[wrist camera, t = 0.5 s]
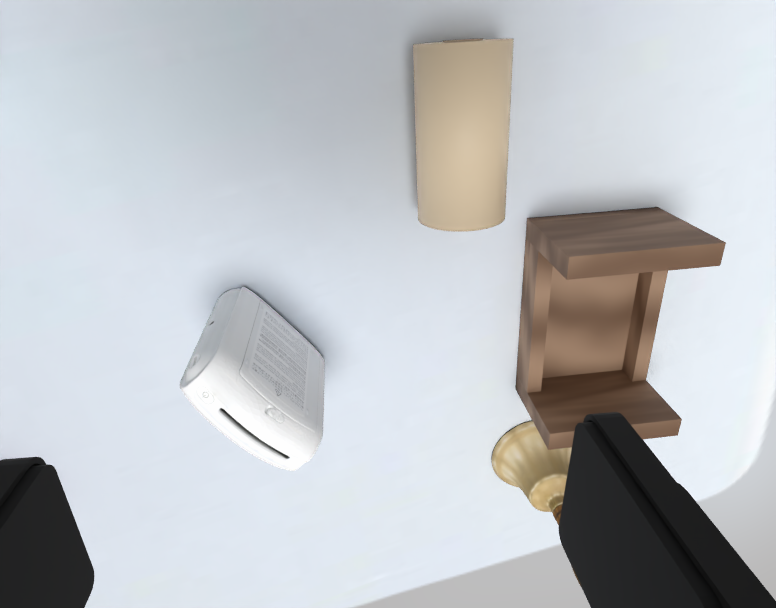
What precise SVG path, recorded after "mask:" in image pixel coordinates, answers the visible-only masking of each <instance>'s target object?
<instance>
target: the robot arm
mask: <svg viewBox="0 0 776 608" xmlns="http://www.w3.org/2000/svg"><path fill="white" fill-rule="evenodd" d="M559 535H560V540H561V543H562V546H563V548H564V550H565V552H566V555H567V557H568V559H569V561H570V563H571V565H572V568H573V570H574V572H575V574H576V576H577V578H578V580H579V583H580V585H581V587H582V589H583V591H584V593H585V595H586V598H587V600H588V602H589V604H590V606H591V608H776V601H775V600H774V598H773V597H772V596H771V595H770V593H769V592H768V591H767V590H766V589H765V587H764V586H763V585H762V583H761V582H760V581H759V580H758V578H757V577H756V576H755V575H754V573H753V572H752V571H751V570H750V569H749V567H748V566H747V565H746V564H745V562H744V561H743V560H742V559H741V557H740V556H739V555H738V554H737V552H736V551H735V550H734V549H733V547H732V546H731V545H730V544H729V542H728V541H727V540H726V539H725V537H724V536H723V535H722V534H721V533H720V531H719V530H718V529H717V528H716V526H715V525H714V524H713V523H712V521H711V520H710V519H709V518H708V516H707V515H706V514H705V513H704V511H703V510H702V509H701V508H700V506H699V505H698V504H697V503H696V501H695V500H694V499H693V498H692V496H691V495H690V494H689V493H688V491H687V490H686V489H685V488H683V487H682V486H681V485H680V484H678V483H677V482H676V481H675V480H674V479H673V477H672V476H671V475H670V474H669V472H668V471H667V470H666V469H665V467H664V466H663V465H662V463H661V462H660V461H659V460H658V458H657V457H656V456H655V455H654V453H653V452H652V451H651V450H650V448H649V447H648V446H647V445H646V443H645V442H644V441H643V440H642V438H641V437H640V436H639V435H638V433H637V432H636V431H635V430H634V428H633V427H632V426H631V425H630V423H629V422H628V421H627V420H626V418H625V417H624V416H623V415H622V414H621V413H619V412H609V413H596V414H588V415H586V416H585V418H584V421H583V423H577V425H576V427H575V432H574V438H573V444H572V450H571V456H570V462H569V467H568V473H567V479H566V485H565V491H564V497H563V503H562V509H561V515H560V521H559ZM93 584H94V570H93V566H92V564H91V561H90V558H89V556H88V553H87V551H86V548H85V545H84V543H83V540H82V537H81V535H80V532H79V530H78V527H77V524H76V522H75V519H74V516H73V514H72V511H71V509H70V506H69V503H68V501H67V498H66V495H65V493H64V490H63V488H62V485H61V482H60V480H59V477H58V475H57V472H56V470H55V468H54V467H53V466H52V465H46V463H45V462H44V460H43V459H41V458H40V457H29V458H16V459H3V460H1V461H0V608H84V607H85V605H86V603H87V600H88V598H89V596H90V594H91V591H92V588H93Z"/></svg>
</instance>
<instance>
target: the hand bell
mask: <svg viewBox="0 0 776 608" xmlns="http://www.w3.org/2000/svg"><path fill="white" fill-rule="evenodd" d="M571 450H572V447H570V448H562V449H553V450H548V449H547V447H546V445H545V443H544V441H543V439H542V437H541V436H540V434H539V432H538V430H537V428H536V426H535V424H534V422H533V421H529V422H526V423H523V424H520V425H518V426H517V427H515V428H513V429H512V430H510V431H509V432H507V433H506V434H505V435H504V436H503V437H502V438H501V439H500V440H499V442H498V443H497V444H496V446H495V448H494V451H493V455H492V466H493V469H494V471H495V473H496V474H497V476H498V477H499V478H500V479H502V480H503V481H504V482H506V483H508V484H510V485H512V486H516V487H519V488H520V489H521V490H522V491H523V492H524V494H525V495H526V496H527V498H528V500H529V501H530V503H531V504H532V506H533V507H535V508H536V509H538V510H540V511H544V512H552V513H553V516H554V518H555V520H556V521H557V523H558V525H559V521H560V515H561V509H562V503H563V497H564V491H565V485H566V479H567V473H568V467H569V462H570V456H571ZM571 566H572V565H571ZM573 571H574V570H573ZM574 573H575V572H574ZM575 576H576V574H575ZM576 578H577V576H576ZM577 580H578V578H577ZM578 582H579V580H578ZM579 584H580V583H579ZM580 586H581V585H580Z"/></svg>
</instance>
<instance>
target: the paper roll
mask: <svg viewBox="0 0 776 608" xmlns="http://www.w3.org/2000/svg"><path fill="white" fill-rule="evenodd" d="M512 59H513V39H484V40H483V39H462V40H447V41H443V42H434V43H422V44H413V62H414V96H415V130H416V164H417V197H418V220H419V222H420V223H421V224H423V225H425V226H427V227H430V228H433V229H438V230H444V231H475V230H482V229H487V228H491V227H494V226H496V225H498V224H500V223H502V222H503V221H504V219H505V205H506V185H507V164H508V143H509V122H510V101H511V80H512Z"/></svg>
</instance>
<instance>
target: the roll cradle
mask: <svg viewBox="0 0 776 608" xmlns="http://www.w3.org/2000/svg"><path fill="white" fill-rule="evenodd" d="M725 244H726V243H725V242H724V241H722V240H720V239H718V238H716V237H714V236H712V235H710V234H708V233H706V232H704V231H702V230H700V229H699V228H697V227H695V226H693V225H691V224H689V223H687V222H685V221H683V220H681V219H679V218H677V217H675V216H673V215H672V214H670V213H668V212H666V211H664V210H662V209H660V208H658V207H654V208H642V209H630V210H619V211H607V212H595V213H583V214H572V215H560V216H548V217H536V218H527V227H526V242H525V257H524V272H523V287H522V302H521V316H520V331H519V346H518V361H517V376H516V390H517V392H518V394H519V396H520V398H521V400H522V402H523V404H524V405H525V407H526V409H527V411H528V413H529V415H530V417H531V419H532V420H533V422H534V424H535V426H536V428H537V430H538V432H539V434H540V436H541V437H542V439H543V441H544V443H545V445H546V447H547V449H548V450H553V449H562V448H570V447H572V444H573V438H574V432H575V427H576V425H577V423H583V421H584V418H585V416H586V415H588V414H596V413H609V412H619V413H621V414H622V415H623V416H624V417H625V418H626V420H627V421H628V422H629V423H630V425H631V426H632V427H633V428H634V430H635V431H636V432H637V433H638V435H639V436H640V437H641V438H642V439H649V438H658V437H667V436H676V435H678V432H679V428H680V424H681V420H682V419H681V418H680V417H679V416H678V415H677V413H676V412H675V411H674V410H673V409H672V408H671V407H670V406H669V405H668V404H667V403H666V401H665V400H664V399H663V398H662V397H661V396H660V395H659V394H658V393H657V392H656V391H655V390H654V388H653V387H652V386H651V385H650V384H649V383H648V382H647V381H646V377H647V372H648V367H649V362H650V357H651V352H652V347H653V342H654V337H655V332H656V327H657V322H658V317H659V312H660V307H661V302H662V298H663V293H664V288H665V283H666V278H667V273H668V270H678V269H688V268H699V267H710V266H720V264H721V260H722V256H723V252H724V248H725Z"/></svg>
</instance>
